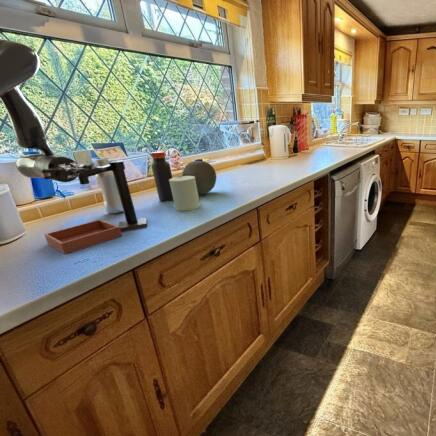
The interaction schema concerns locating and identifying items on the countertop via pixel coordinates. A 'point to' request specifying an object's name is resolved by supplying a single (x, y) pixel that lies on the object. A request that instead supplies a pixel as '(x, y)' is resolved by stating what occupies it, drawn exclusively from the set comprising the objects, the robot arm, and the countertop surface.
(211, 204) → the countertop surface
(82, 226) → the reddish brown tray
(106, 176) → the plastic bottle
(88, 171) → the spout
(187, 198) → the can
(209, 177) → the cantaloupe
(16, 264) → the countertop surface
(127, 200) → the faucet base
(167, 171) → the vinegar
